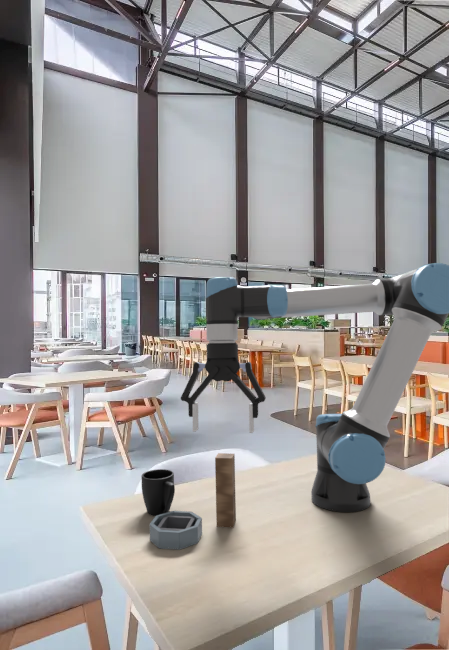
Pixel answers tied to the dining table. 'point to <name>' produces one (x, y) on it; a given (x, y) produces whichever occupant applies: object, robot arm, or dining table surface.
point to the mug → (158, 491)
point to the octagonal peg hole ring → (176, 530)
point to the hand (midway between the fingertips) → (223, 431)
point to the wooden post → (225, 490)
